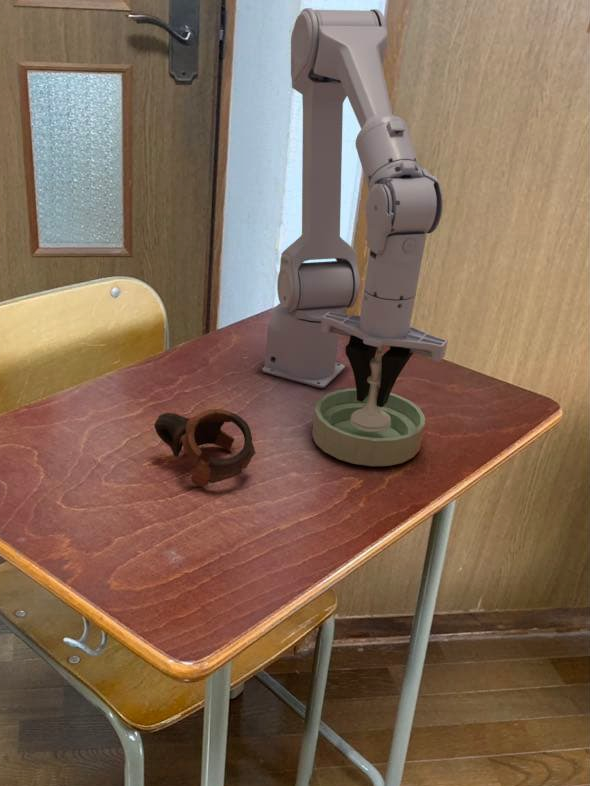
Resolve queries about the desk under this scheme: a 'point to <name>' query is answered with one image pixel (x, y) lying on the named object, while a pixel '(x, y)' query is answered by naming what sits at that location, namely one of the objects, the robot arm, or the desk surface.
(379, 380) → the chess piece
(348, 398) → the bowl
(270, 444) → the desk surface
